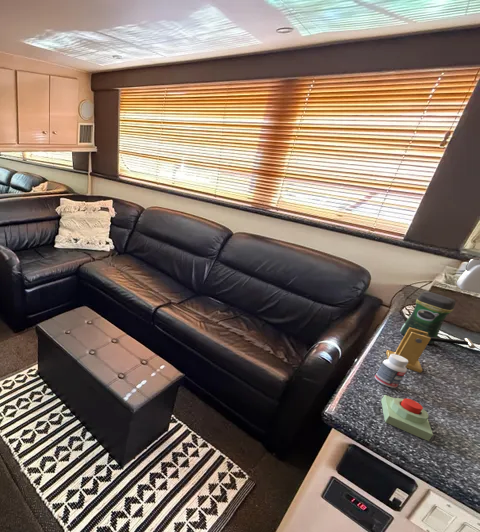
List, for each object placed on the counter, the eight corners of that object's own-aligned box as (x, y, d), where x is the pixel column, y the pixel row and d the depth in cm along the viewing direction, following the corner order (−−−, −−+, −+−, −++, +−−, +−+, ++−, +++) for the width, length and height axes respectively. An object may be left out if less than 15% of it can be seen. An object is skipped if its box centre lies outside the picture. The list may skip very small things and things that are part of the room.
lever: (469, 343, 98) (470, 336, 97) (474, 350, 94) (475, 343, 93) (409, 336, 106) (409, 330, 105) (411, 343, 102) (412, 336, 102)
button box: (380, 400, 88) (387, 389, 86) (420, 416, 83) (428, 405, 82) (384, 422, 80) (392, 410, 79) (428, 441, 76) (437, 429, 74)
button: (399, 401, 83) (402, 396, 82) (418, 408, 81) (421, 403, 80) (401, 409, 80) (404, 403, 79) (420, 417, 78) (424, 411, 77)
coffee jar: (435, 342, 122) (461, 299, 115) (429, 346, 118) (455, 302, 111) (403, 329, 130) (425, 288, 123) (395, 333, 126) (418, 291, 119)
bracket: (416, 362, 107) (434, 333, 103) (420, 373, 102) (439, 342, 97) (385, 352, 111) (401, 323, 107) (388, 361, 106) (404, 331, 102)
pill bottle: (391, 390, 92) (406, 365, 89) (370, 378, 97) (383, 354, 93) (400, 386, 94) (415, 361, 91) (379, 374, 99) (392, 351, 96)
